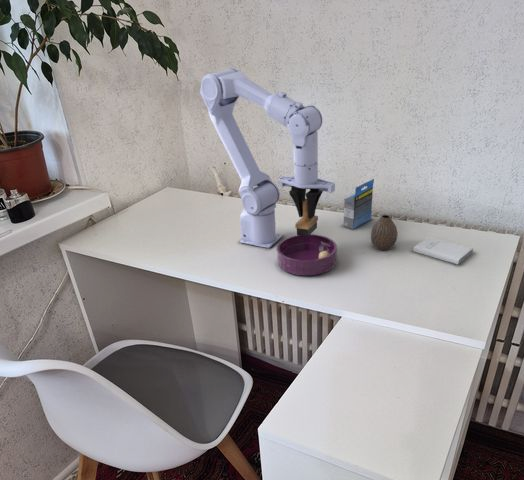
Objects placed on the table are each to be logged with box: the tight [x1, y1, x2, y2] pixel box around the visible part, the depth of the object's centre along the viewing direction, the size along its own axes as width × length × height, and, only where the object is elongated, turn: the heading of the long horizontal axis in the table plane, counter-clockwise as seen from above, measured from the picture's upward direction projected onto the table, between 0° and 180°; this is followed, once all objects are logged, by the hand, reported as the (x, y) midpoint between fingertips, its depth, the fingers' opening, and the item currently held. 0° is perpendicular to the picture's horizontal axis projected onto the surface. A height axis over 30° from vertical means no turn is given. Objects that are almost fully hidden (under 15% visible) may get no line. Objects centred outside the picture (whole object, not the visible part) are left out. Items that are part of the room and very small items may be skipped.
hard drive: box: [412, 236, 474, 266], centre depth 132 cm, size 2×8×12 cm
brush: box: [295, 198, 319, 237], centre depth 130 cm, size 4×6×8 cm, turn 152°
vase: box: [370, 214, 399, 251], centre depth 134 cm, size 7×7×9 cm
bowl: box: [276, 233, 338, 277], centre depth 131 cm, size 15×15×4 cm
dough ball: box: [318, 251, 329, 259], centre depth 130 cm, size 3×3×3 cm
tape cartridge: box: [343, 178, 375, 230], centre depth 146 cm, size 9×4×12 cm, turn 136°
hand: (306, 216), depth 130 cm, fingers closed on brush, 2 cm apart
